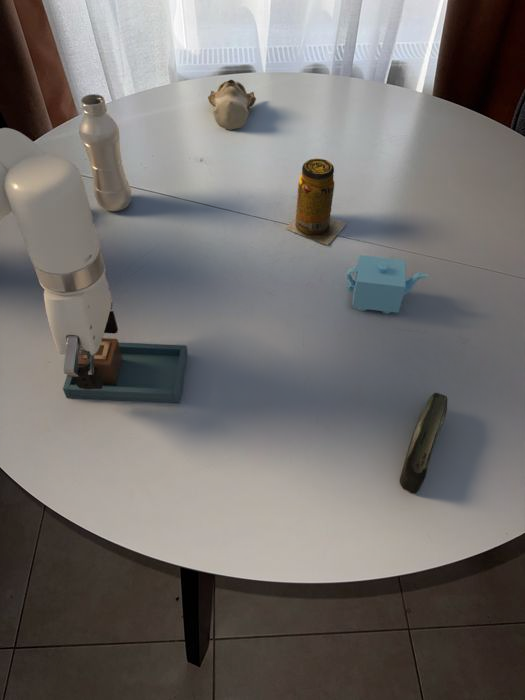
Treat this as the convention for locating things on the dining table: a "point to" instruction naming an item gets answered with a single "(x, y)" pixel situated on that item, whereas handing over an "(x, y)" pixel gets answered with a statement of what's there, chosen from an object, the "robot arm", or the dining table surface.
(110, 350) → the tile
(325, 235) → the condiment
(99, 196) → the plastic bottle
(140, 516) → the dining table surface
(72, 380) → the tray
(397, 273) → the teapot
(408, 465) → the dark grey rounded bar
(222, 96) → the ceramic sculpture
